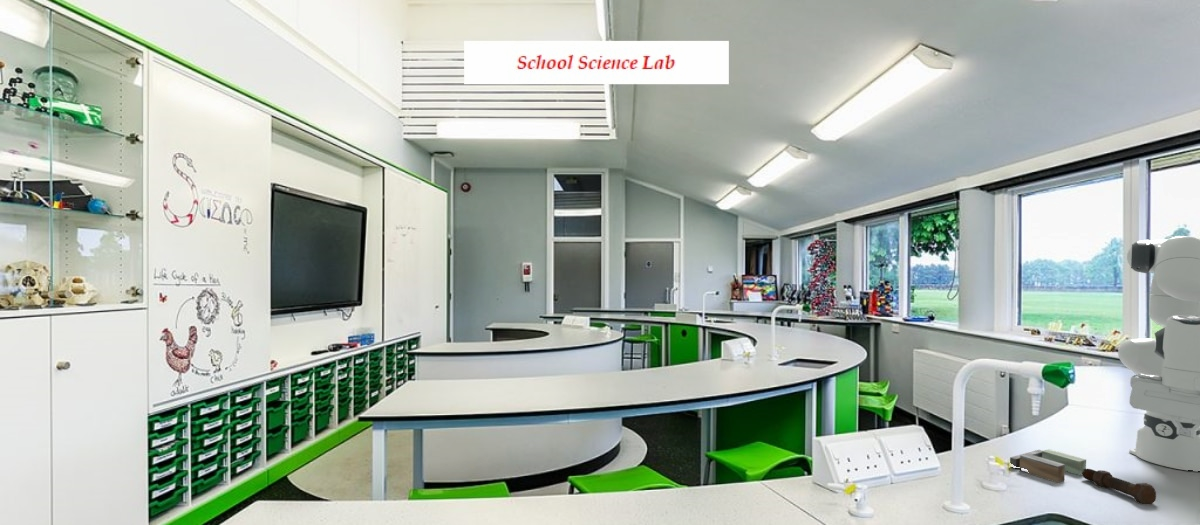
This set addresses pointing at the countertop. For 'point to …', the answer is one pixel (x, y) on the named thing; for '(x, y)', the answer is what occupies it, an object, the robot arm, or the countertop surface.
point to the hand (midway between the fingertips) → (1186, 436)
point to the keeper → (1049, 464)
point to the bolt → (1122, 486)
